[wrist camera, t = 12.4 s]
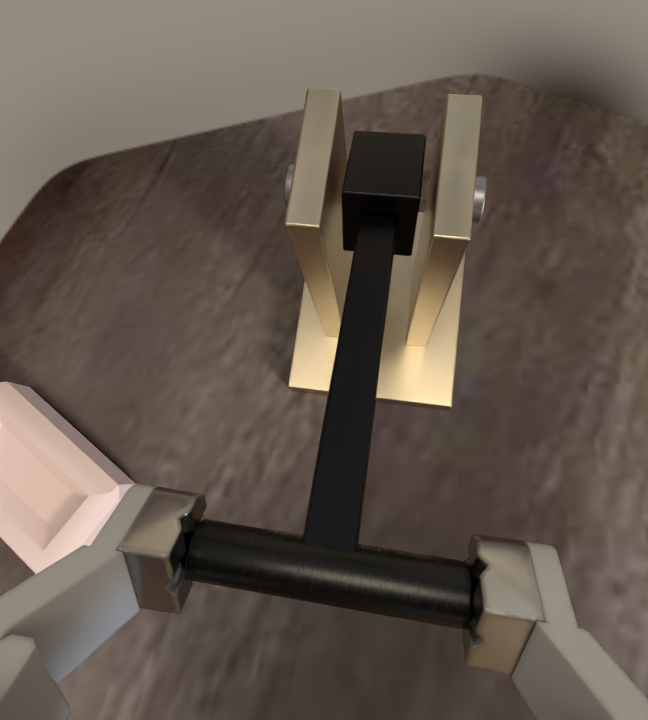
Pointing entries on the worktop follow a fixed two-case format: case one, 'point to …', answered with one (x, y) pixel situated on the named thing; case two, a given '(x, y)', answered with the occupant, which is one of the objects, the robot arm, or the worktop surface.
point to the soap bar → (50, 481)
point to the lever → (349, 433)
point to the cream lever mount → (409, 273)
